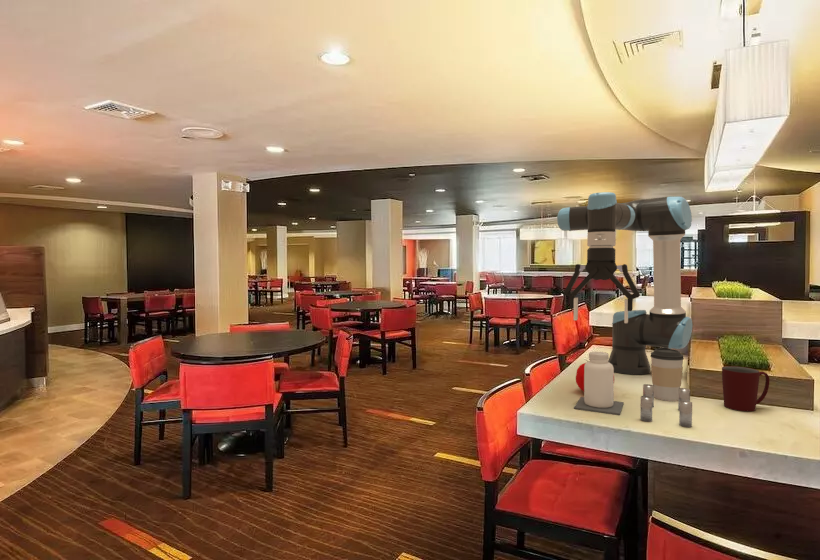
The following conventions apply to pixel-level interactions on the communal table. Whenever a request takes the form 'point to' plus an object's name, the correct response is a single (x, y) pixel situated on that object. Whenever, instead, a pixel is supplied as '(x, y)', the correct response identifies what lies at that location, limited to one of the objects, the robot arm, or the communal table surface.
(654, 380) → the coffee cup
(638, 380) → the communal table surface
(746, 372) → the mug
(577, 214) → the robot arm
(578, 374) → the tomato
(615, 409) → the mat
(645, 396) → the spacers
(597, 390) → the pill bottle
